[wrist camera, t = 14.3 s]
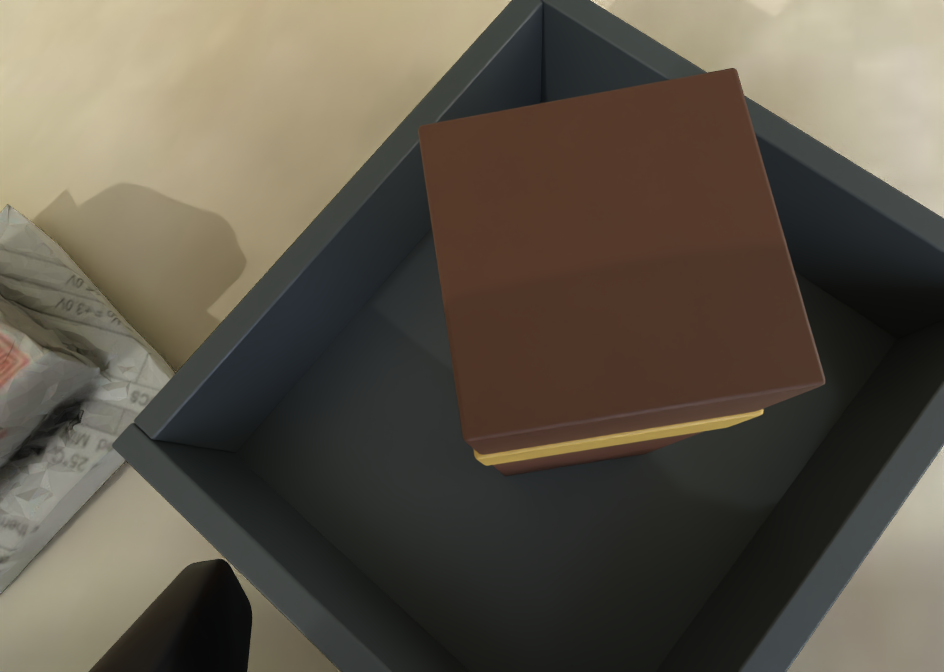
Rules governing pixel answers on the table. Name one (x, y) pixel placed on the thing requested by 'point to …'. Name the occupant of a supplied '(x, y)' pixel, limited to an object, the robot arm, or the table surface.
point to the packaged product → (59, 389)
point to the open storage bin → (560, 489)
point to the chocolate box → (612, 273)
